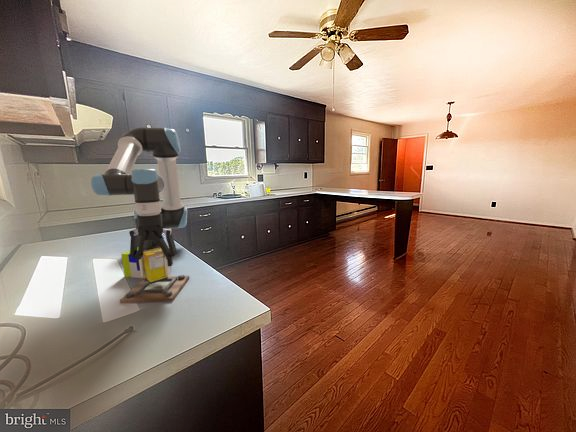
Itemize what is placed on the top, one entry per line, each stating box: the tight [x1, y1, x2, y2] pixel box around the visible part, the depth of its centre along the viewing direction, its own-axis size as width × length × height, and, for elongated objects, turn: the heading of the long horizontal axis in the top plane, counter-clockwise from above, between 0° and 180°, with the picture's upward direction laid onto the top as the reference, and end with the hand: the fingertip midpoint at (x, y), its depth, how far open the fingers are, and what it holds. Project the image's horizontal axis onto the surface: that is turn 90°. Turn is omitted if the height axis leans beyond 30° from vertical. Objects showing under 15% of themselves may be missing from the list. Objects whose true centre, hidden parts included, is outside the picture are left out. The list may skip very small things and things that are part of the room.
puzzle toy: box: [121, 247, 158, 279], centre depth 102 cm, size 10×10×10 cm
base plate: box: [119, 274, 190, 304], centre depth 88 cm, size 17×17×2 cm
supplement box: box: [143, 248, 168, 284], centre depth 87 cm, size 6×6×11 cm
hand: (156, 274), depth 87 cm, fingers closed on supplement box, 8 cm apart
